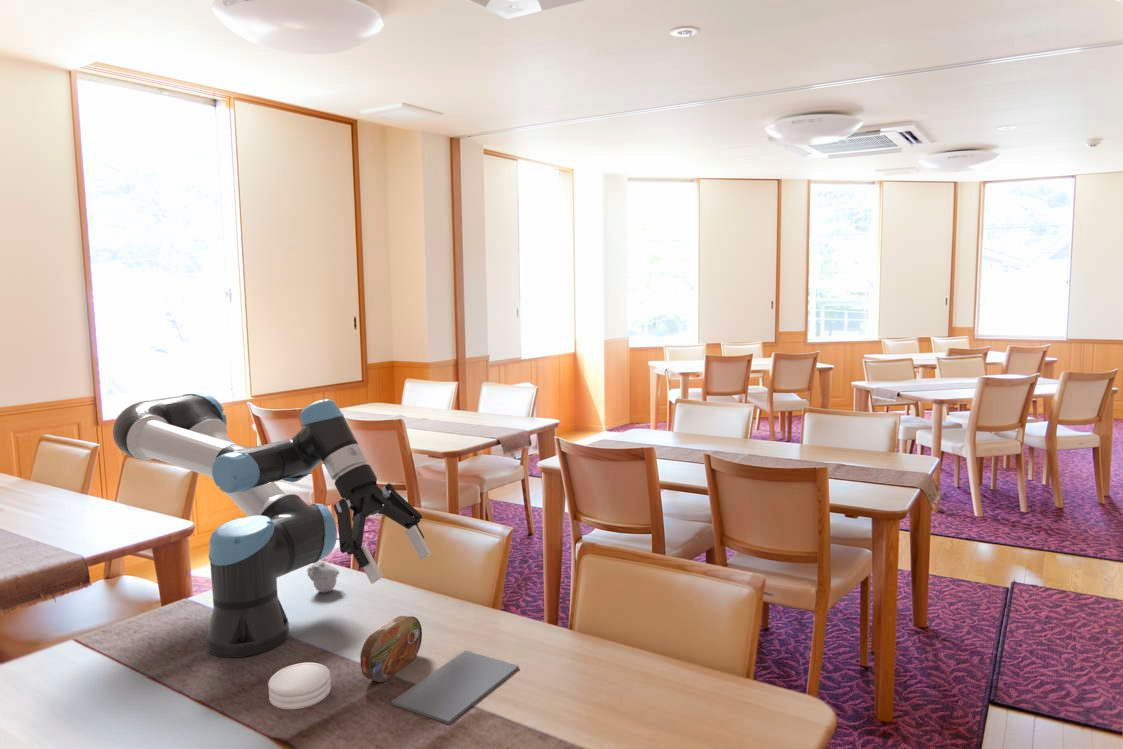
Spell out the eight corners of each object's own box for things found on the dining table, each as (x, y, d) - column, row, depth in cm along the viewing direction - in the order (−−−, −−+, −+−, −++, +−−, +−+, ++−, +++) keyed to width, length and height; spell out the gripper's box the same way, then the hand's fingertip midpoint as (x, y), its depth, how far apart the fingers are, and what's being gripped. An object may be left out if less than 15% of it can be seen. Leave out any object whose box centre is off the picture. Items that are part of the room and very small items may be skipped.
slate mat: (391, 704, 128) (391, 701, 127) (465, 653, 145) (465, 650, 145) (448, 724, 122) (448, 721, 121) (518, 668, 139) (518, 665, 139)
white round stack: (342, 685, 134) (341, 665, 134) (306, 715, 125) (305, 695, 125) (295, 676, 138) (294, 657, 137) (256, 705, 128) (254, 685, 128)
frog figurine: (311, 587, 177) (309, 557, 176) (342, 585, 178) (340, 556, 177) (305, 597, 171) (303, 567, 170) (337, 596, 172) (336, 565, 171)
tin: (372, 691, 132) (370, 644, 131) (358, 687, 133) (355, 641, 132) (424, 652, 145) (422, 609, 144) (410, 649, 147) (408, 607, 146)
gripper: (311, 477, 138) (366, 582, 134) (405, 450, 160) (455, 540, 156) (289, 497, 142) (342, 599, 138) (384, 467, 163) (432, 556, 159)
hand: (402, 568), depth 147 cm, fingers open, 13 cm apart
